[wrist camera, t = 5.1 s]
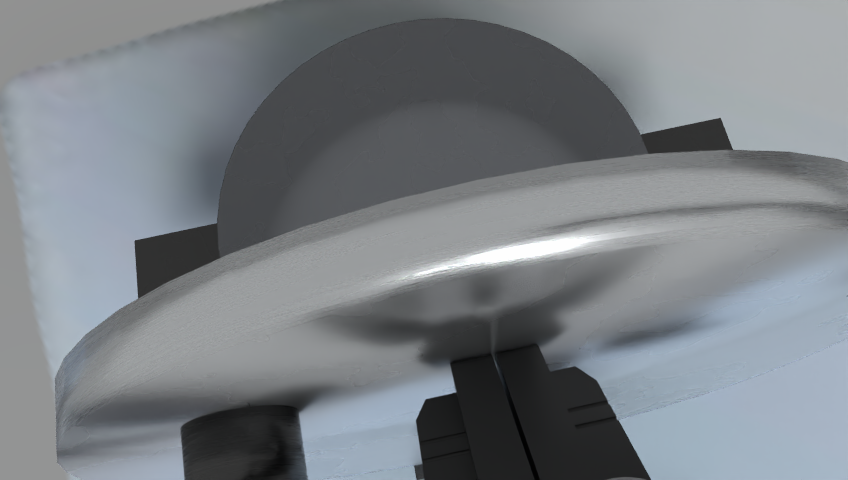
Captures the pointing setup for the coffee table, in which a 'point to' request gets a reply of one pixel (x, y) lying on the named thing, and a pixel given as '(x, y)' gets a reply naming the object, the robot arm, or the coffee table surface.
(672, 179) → the cooker lid
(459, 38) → the cooker pot
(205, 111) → the coffee table surface
